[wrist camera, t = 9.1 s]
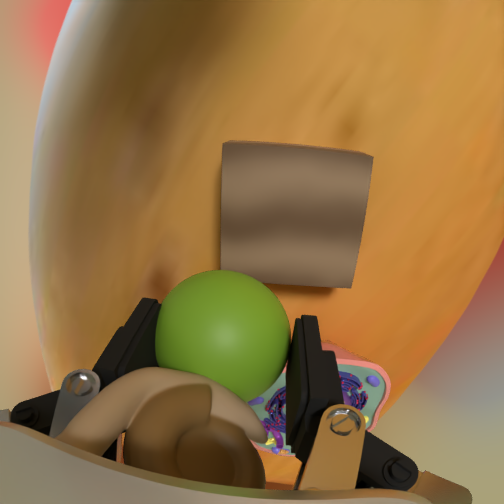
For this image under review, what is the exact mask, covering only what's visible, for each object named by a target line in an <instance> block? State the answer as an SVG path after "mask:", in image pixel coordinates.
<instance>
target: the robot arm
mask: <svg viewBox="0 0 504 504" xmlns="http://www.w3.org/2000/svg"><path fill="white" fill-rule="evenodd" d="M161 306H162V304H159V303H158V300H157V299H150V298H142V299H141V301H140V302H139V304H138V305H137V307H136V308H135V310H134V311H133V313H132V314H131V316H130V318H129V319H128V321H127V322H126V324H125V325H124V327H122V326H121V327H119V328H118V330H117V331H116V333H115V334H114V336H113V337H112V339H111V340H110V342H109V344H108V345H107V347H106V348H105V350H104V351H103V353H102V355H101V356H100V358H99V359H98V361H97V363H96V364H95V366H94V368H93V369H92V371H91V370H87V369H78V370H75V371H73V372H71V373H69V374H68V375H67V376H66V377H65V378H64V380H63V382H62V386H61V389H60V390H57V391H54V392H51V393H48V394H45V395H42V396H39V397H36V398H32V399H30V400H26V401H23V402H21V403H19V404H17V405H16V406H15V407H14V408H13V410H12V411H11V412H10V410H9V409H5V410H0V504H472V495H471V493H470V491H469V490H468V489H467V488H465V487H463V486H461V485H458V484H456V483H453V482H451V481H449V480H446V479H444V478H442V477H439V476H437V475H435V474H432V473H430V472H428V471H426V470H425V471H424V472H421V471H419V470H418V468H417V466H416V464H415V462H414V461H413V460H411V459H410V458H409V457H407V456H405V455H404V454H402V453H401V452H399V451H398V450H396V449H394V448H393V447H391V446H390V445H388V444H387V443H385V442H383V441H382V440H380V439H379V438H377V437H376V436H374V435H373V434H371V433H370V432H368V431H367V430H365V429H366V420H365V418H364V415H363V414H362V413H361V412H360V411H359V410H358V409H356V408H355V407H353V406H350V405H345V404H344V398H343V393H342V387H341V382H340V376H339V371H338V366H337V361H336V356H335V352H334V351H331V350H322V345H321V338H320V332H319V326H318V320H317V316H311V315H302V316H301V319H300V318H296V320H295V325H294V331H293V336H292V341H291V348H290V354H289V358H288V361H287V366H286V375H285V379H286V445H289V446H291V453H295V457H296V458H298V459H299V460H300V461H301V465H300V468H299V471H298V474H297V477H296V480H295V483H294V485H293V488H292V490H269V489H254V488H242V487H233V486H224V485H217V484H210V483H203V482H197V481H192V480H186V479H181V478H176V477H172V476H167V475H163V474H158V473H154V472H150V471H146V470H143V469H139V468H135V467H132V466H128V465H125V464H122V463H121V445H122V433H124V432H126V430H124V431H123V432H122V433H121V434H120V435H119V436H118V437H117V439H116V440H115V441H114V442H113V443H112V444H111V445H110V446H109V448H108V449H107V450H106V451H105V452H104V454H103V455H102V456H101V457H100V456H97V455H95V454H92V453H89V452H86V451H84V450H81V449H79V448H76V447H73V446H71V445H68V444H66V443H63V442H61V441H59V440H56V439H54V438H55V437H57V436H58V435H59V434H61V433H62V432H63V430H64V429H65V428H66V427H67V426H68V424H69V423H70V421H71V420H72V419H73V418H74V417H75V416H76V415H77V414H78V412H79V411H81V410H82V409H83V408H84V407H85V406H86V405H87V404H88V403H89V402H90V401H91V400H92V399H93V398H94V397H95V396H96V395H97V394H98V393H100V392H101V391H102V390H103V389H104V388H105V387H107V386H108V385H109V384H111V383H112V382H114V381H115V380H117V379H118V378H120V377H122V376H124V375H125V374H128V373H130V372H132V371H134V370H137V369H141V368H146V367H159V365H158V363H157V359H156V352H155V335H156V326H157V320H158V316H159V312H160V309H161Z"/></svg>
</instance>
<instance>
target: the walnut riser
mask: <svg viewBox="0 0 504 504" xmlns="http://www.w3.org/2000/svg"><path fill="white" fill-rule="evenodd" d="M372 165H373V157H372V156H370V155H367V154H365V153H362V152H359V151H352V150H344V149H336V148H328V147H319V146H309V145H298V144H286V143H272V142H255V141H231V140H230V141H227V142H225V143H223V148H222V187H221V270H230V271H235V272H240V273H243V274H246V275H248V276H251V277H253V278H255V279H256V280H258V281H260V282H261V283H272V284H287V285H302V286H318V287H335V288H351V286H352V282H353V277H354V273H355V268H356V263H357V258H358V253H359V248H360V243H361V237H362V232H363V226H364V220H365V214H366V208H367V202H368V195H369V188H370V181H371V173H372Z"/></svg>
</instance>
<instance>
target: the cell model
mask: <svg viewBox="0 0 504 504" xmlns="http://www.w3.org/2000/svg"><path fill="white" fill-rule="evenodd" d="M321 345H322V350H331V351H334V352H335V356H336V361H337V366H338V371H339V376H340V382H341V387H342V393H343V398H344V404H345V405H350V406H353V407H355V408H356V409H358V410H359V411H360V412H361V413H362V414H363V415H364V418H365V420H366V429H365V430H367V431H368V432H370V431H371V430H372V429H373V428H374V427H375V426H376V424H377V421H378V417H379V413H380V411H381V408H382V407H383V405H384V404H385V402H386V400H387V399H388V396H389V394H390V388H391V384H390V379H389V377H388V375H387V374H386V372H385V371H384V369H382V368H381V367H380V366H379V365H377V364H376V363H374V362H373V361H371V360H369V359H367V358H365V357H362V356H360V355H358V354H355V353H353V352H351V351H349V350H346V349H344V348H342V347H340V346H338V345H337V344H335V343H333V342H331V341H328V340H322V341H321ZM286 366H287V363H286ZM286 366H285V368H284V370H283V372H282V374H281V375H280V377H279V378H278V379H277V381H276V382H275V383H274V384H273V385H272V386H271V387H270V388H269V389H268V390H267V391H266V392H264V393H263V394H262V395H260V396H258V397H257V398H255V399H253V400H251V401H248V402H246V403H247V404H248V405H249V406H250V407H251V408H252V409H253V410H254V412H255V413H256V414H257V416H258V417H259V419H260V421H261V422H262V424H263V426H264V428H265V430H266V433H267V436H268V441H267V442H266V443H264V444H260V443H256V442H254V441H252V440H250V439H249V440H250V441H251V442H252V444H253V445H254V447H255V448H256V449H258V450H262V451H265V452H268V453H272V454H276V455H280V456H295V453H291V446H289V445H286V379H285V375H286Z"/></svg>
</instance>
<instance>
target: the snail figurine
mask: <svg viewBox="0 0 504 504" xmlns="http://www.w3.org/2000/svg"><path fill="white" fill-rule="evenodd" d="M290 348H291V330H290V324H289V320H288V317H287V314H286V312H285V310H284V308H283V306H282V304H281V303H280V301H279V300H278V298H277V297H276V296H275V295H274V293H273V292H272V291H271V290H270V289H269V288H268V287H266V286H265V285H264V284H262V283H261V282H260V281H258V280H256V279H255V278H253V277H251V276H248V275H246V274H243V273H240V272H235V271H230V270H212V271H206V272H202V273H199V274H196V275H193V276H191V277H189V278H187V279H186V280H184V281H182V282H181V283H180V284H178V285H177V286H176V287H175V288H174V289H173V290H171V292H170V293H169V294H168V295H167V296H166V298H165V299H164V300H163V302H162V306H161V309H160V312H159V316H158V320H157V326H156V335H155V352H156V359H157V363H158V365H159V367H146V368H141V369H137V370H134V371H132V372H130V373H128V374H125V375H124V376H122V377H120V378H118V379H117V380H115V381H114V382H112V383H111V384H109V385H108V386H107V387H105V388H104V389H103V390H102V391H101V392H100V393H98V394H97V395H96V396H95V397H94V398H93V399H92V400H91V401H90V402H89V403H88V404H87V405H86V406H85V407H84V408H83V409H82V410H81V411H79V412H78V414H77V415H76V416H75V417H74V418H73V419H72V420H71V421H70V423H69V424H68V426H67V427H66V428H65V429H64V430H63V432H62V433H61V434H59V435H58V436H57V437H55V438H54V439H56V440H59V441H61V442H63V443H66V444H68V445H71V446H73V447H76V448H79V449H81V450H84V451H86V452H89V453H92V454H95V455H97V456H100V457H101V456H102V455H103V454H104V452H105V451H106V450H107V449H108V448H109V446H110V445H111V444H112V443H113V442H114V441H115V440H116V439H117V437H118V436H119V435H120V434H121V433H122V432H123V431H124V430H126V434H125V438H124V447H123V458H124V464H125V465H128V466H132V467H135V468H139V469H143V470H146V471H150V472H154V473H158V474H163V475H167V476H172V477H176V478H181V479H186V480H192V481H197V482H203V483H210V484H217V485H224V486H233V487H242V488H254V489H265V484H266V479H265V470H264V466H263V463H262V460H261V458H260V456H259V454H258V452H257V450H256V448H255V447H254V445H253V444H252V442H251V441H250V440H252V441H254V442H256V443H260V444H264V443H266V442H267V441H268V436H267V433H266V430H265V428H264V426H263V424H262V422H261V421H260V419H259V417H258V416H257V414H256V413H255V412H254V410H253V409H252V408H251V407H250V406H249V405H248V404H247V403H246V402H248V401H251V400H253V399H255V398H257V397H258V396H260V395H262V394H263V393H264V392H266V391H267V390H268V389H269V388H270V387H271V386H272V385H273V384H274V383H275V382H276V381H277V379H278V378H279V377H280V375H281V374H282V372H283V370H284V368H285V366H286V363H287V361H288V358H289V354H290ZM249 439H250V440H249Z"/></svg>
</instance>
